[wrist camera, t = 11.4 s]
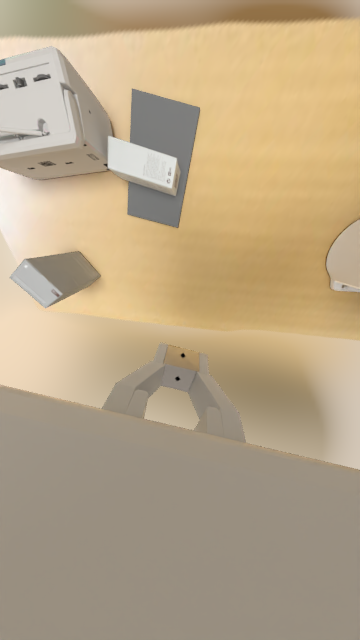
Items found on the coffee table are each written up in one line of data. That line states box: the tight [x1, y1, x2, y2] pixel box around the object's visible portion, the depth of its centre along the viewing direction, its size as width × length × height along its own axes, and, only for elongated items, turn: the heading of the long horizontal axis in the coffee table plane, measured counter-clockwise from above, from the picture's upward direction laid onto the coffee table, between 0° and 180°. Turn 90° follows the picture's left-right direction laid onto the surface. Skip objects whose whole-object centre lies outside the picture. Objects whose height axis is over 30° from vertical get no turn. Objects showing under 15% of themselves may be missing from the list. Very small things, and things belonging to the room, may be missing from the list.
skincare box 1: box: [10, 251, 100, 308], centre depth 36 cm, size 8×7×16 cm
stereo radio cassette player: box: [0, 46, 113, 180], centre depth 22 cm, size 21×8×20 cm, turn 94°
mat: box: [128, 89, 200, 228], centre depth 30 cm, size 12×18×1 cm, turn 167°
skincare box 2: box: [108, 136, 181, 196], centre depth 28 cm, size 6×4×12 cm
